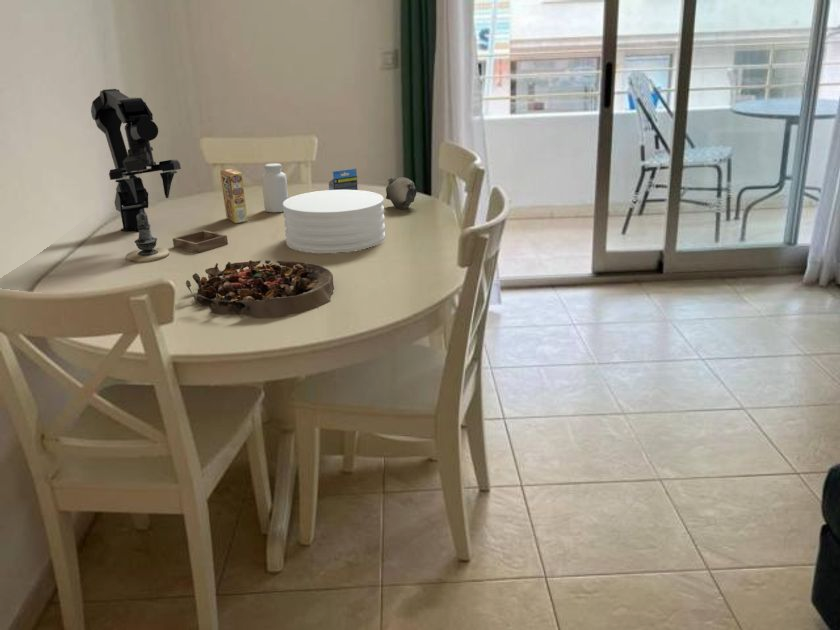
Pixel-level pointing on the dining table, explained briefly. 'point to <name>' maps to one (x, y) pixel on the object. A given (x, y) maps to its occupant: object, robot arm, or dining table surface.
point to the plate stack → (334, 221)
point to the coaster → (135, 257)
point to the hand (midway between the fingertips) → (151, 200)
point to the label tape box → (344, 180)
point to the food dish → (264, 288)
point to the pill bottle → (274, 188)
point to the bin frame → (210, 237)
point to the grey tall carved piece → (145, 236)
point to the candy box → (234, 195)
